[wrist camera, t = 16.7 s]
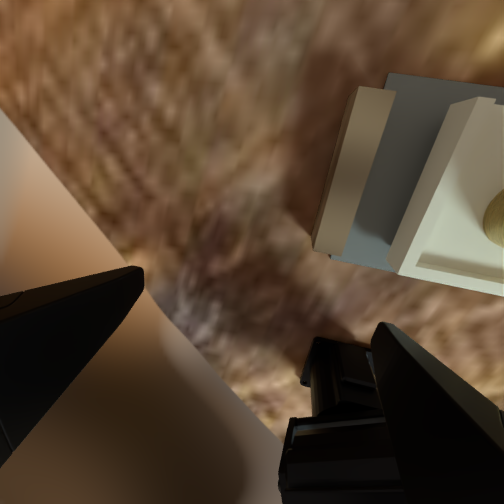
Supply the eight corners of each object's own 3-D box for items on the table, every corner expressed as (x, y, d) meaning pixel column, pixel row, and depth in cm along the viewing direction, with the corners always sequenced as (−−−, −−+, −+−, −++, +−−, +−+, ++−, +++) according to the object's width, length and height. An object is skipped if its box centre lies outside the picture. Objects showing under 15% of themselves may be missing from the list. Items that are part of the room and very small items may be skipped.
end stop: (335, 241, 20) (341, 256, 17) (310, 236, 20) (313, 250, 17) (379, 100, 16) (396, 91, 13) (348, 96, 16) (359, 85, 13)
